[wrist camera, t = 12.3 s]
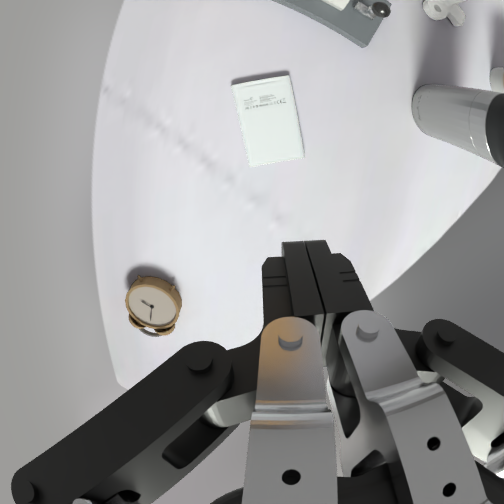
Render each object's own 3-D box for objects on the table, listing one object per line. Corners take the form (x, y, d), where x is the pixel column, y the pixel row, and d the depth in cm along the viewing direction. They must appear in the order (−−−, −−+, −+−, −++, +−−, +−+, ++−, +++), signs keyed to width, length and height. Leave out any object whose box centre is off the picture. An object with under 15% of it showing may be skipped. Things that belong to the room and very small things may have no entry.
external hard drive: (249, 165, 40) (231, 85, 33) (303, 155, 39) (288, 75, 33) (249, 167, 38) (230, 85, 32) (305, 158, 37) (290, 74, 31)
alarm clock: (183, 292, 49) (172, 350, 54) (187, 279, 53) (176, 335, 58) (126, 276, 47) (122, 335, 52) (134, 265, 51) (129, 322, 57)
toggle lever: (376, 11, 23) (399, 11, 17) (369, 21, 25) (390, 23, 18) (358, 0, 23) (376, -5, 16) (351, 10, 24) (367, 7, 18)
